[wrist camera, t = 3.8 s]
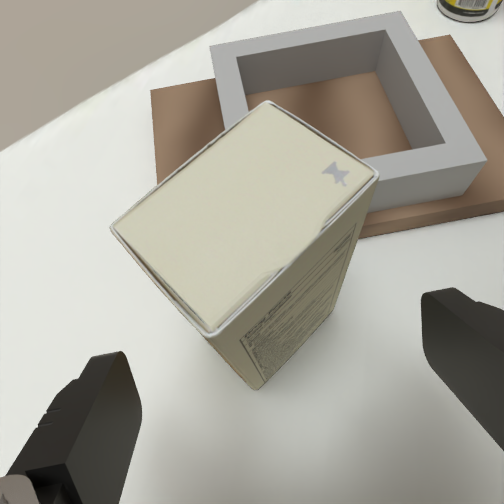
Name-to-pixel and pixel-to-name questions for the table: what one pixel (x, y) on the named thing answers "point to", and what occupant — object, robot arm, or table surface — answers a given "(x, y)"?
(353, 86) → the board
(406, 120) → the collar
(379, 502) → the table surface
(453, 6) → the supplement bottle
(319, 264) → the skincare box
